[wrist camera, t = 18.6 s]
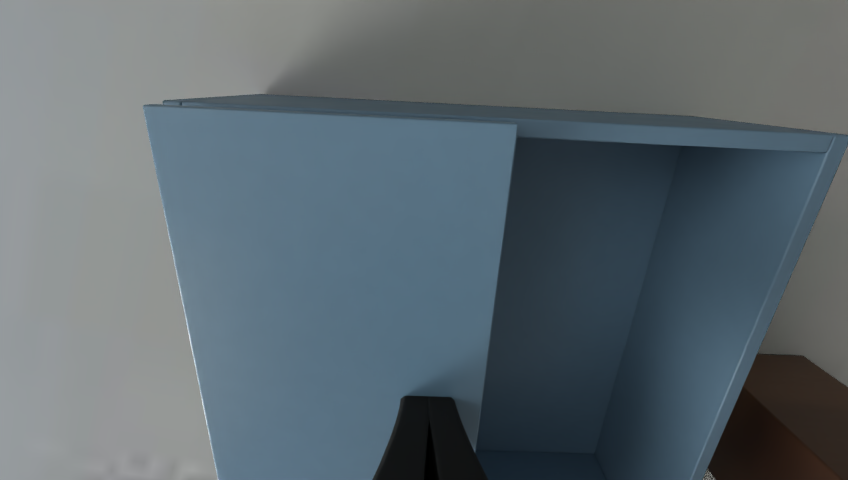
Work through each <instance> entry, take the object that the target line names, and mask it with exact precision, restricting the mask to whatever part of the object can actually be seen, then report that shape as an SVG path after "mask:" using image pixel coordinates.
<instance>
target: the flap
mask: <svg viewBox="0 0 848 480" xmlns="http://www.w3.org/2000/svg"><path fill="white" fill-rule="evenodd" d="M143 109H144V114H145V119H146V124H147V129H148V134H149V139H150V144H151V149H152V154H153V159H154V164H155V169H156V174H157V179H158V184H159V189H160V194H161V199H162V204H163V209H164V214H165V219H166V224H167V229H168V233H169V238H170V243H171V248H172V253H173V258H174V263H175V268H176V273H177V278H178V283H179V288H180V293H181V298H182V303H183V308H184V313H185V318H186V323H187V328H188V333H189V338H190V343H191V348H192V353H193V358H194V363H195V368H196V373H197V378H198V383H199V388H200V392H201V397H202V402H203V407H204V412H205V417H206V422H207V427H208V432H209V437H210V442H211V447H212V452H213V457H214V462H215V467H216V472H217V477H218V480H372V479H373V477H374V475H375V473H376V471H377V469H378V466H379V464H380V462H381V459H382V457H383V454H384V452H385V449H386V447H387V444H388V442H389V439H390V437H391V434H392V431H393V428H394V425H395V422H396V418H397V415H398V411H399V406H400V399H401V398H402V397H404V396H436V397H452V398H453V399H454V400H455V403H456V407H457V410H458V413H459V416H460V419H461V421H462V424H463V426H464V429H465V431H466V434H467V436H468V438H469V441H470V443H471V445H472V447H473V450H474V452H475V451H476V444H477V436H478V429H479V421H480V413H481V406H482V398H483V391H484V383H485V376H486V368H487V360H488V353H489V345H490V338H491V330H492V322H493V315H494V307H495V300H496V292H497V285H498V277H499V269H500V262H501V254H502V247H503V239H504V231H505V224H506V216H507V209H508V201H509V193H510V186H511V178H512V171H513V163H514V156H515V148H516V140H517V133H518V124H517V123H514V122H499V121H479V120H459V119H439V118H419V117H400V116H380V115H360V114H340V113H320V112H300V111H281V110H261V109H241V108H221V107H201V106H181V105H161V104H149V105H144V106H143Z"/></svg>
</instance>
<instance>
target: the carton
mask: <svg viewBox="0 0 848 480" xmlns="http://www.w3.org/2000/svg"><path fill="white" fill-rule="evenodd" d="M163 105H181V106H201V107H221V108H241V109H261V110H281V111H300V112H320V113H340V114H360V115H380V116H400V117H419V118H439V119H459V120H479V121H499V122H514V123H517V124H518V133H517V140H516V148H515V156H514V163H513V171H512V178H511V186H510V193H509V201H508V209H507V216H506V224H505V231H504V239H503V247H502V254H501V262H500V269H499V277H498V285H497V292H496V300H495V307H494V315H493V322H492V330H491V338H490V345H489V353H488V360H487V368H486V376H485V383H484V391H483V398H482V406H481V413H480V421H479V429H478V436H477V444H476V451H475V454H476V456H477V458H478V460H479V462H480V464H481V466H482V468H483V470H484V472H485V474H486V476H487V478H488V480H702V479H703V477H704V475H705V473H706V470H707V468H708V466H709V463H710V461H711V459H712V456H713V454H714V452H715V450H716V447H717V445H718V443H719V440H720V438H721V436H722V433H723V431H724V429H725V426H726V424H727V422H728V420H729V417H730V415H731V413H732V410H733V408H734V406H735V403H736V401H737V399H738V397H739V394H740V392H741V390H742V387H743V385H744V383H745V380H746V378H747V376H748V374H749V371H750V369H751V367H752V364H753V362H754V360H755V357H756V355H757V353H758V351H759V348H760V346H761V344H762V341H763V339H764V337H765V334H766V332H767V330H768V328H769V325H770V323H771V321H772V318H773V316H774V314H775V311H776V309H777V307H778V305H779V302H780V300H781V298H782V295H783V293H784V291H785V288H786V286H787V284H788V282H789V279H790V277H791V275H792V272H793V270H794V268H795V265H796V263H797V261H798V259H799V256H800V254H801V252H802V249H803V247H804V245H805V242H806V240H807V238H808V236H809V233H810V231H811V229H812V226H813V224H814V222H815V219H816V217H817V215H818V212H819V210H820V208H821V206H822V203H823V201H824V199H825V196H826V194H827V192H828V189H829V187H830V185H831V183H832V180H833V178H834V176H835V173H836V171H837V169H838V166H839V164H840V162H841V160H842V157H843V155H844V153H845V150H846V148H847V146H848V135H845V134H837V133H828V132H820V131H812V130H803V129H795V128H786V127H778V126H770V125H761V124H753V123H745V122H736V121H728V120H720V119H711V118H703V117H694V116H677V115H657V114H638V113H618V112H599V111H579V110H560V109H540V108H521V107H502V106H482V105H463V104H443V103H424V102H404V101H385V100H365V99H346V98H326V97H307V96H287V95H268V94H255V95H239V96H224V97H208V98H193V99H177V100H164V101H163Z"/></svg>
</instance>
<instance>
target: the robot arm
mask: <svg viewBox="0 0 848 480" xmlns="http://www.w3.org/2000/svg"><path fill="white" fill-rule="evenodd" d="M372 480H488V478H487V476H486V474H485V472H484V470H483V468H482V466H481V464H480V462H479V460H478V458H477V456H476V454H475V452H474V450H473V447H472V445H471V443H470V441H469V438H468V436H467V434H466V431H465V429H464V426H463V424H462V421H461V419H460V416H459V413H458V410H457V407H456V403H455V400H454V399H453V398H452V397H436V396H404V397H402V398H401V399H400V406H399V411H398V415H397V418H396V422H395V425H394V428H393V431H392V434H391V437H390V439H389V442H388V444H387V447H386V449H385V452H384V454H383V457H382V459H381V462H380V464H379V466H378V469H377V471H376V473H375V475H374V477H373V479H372Z"/></svg>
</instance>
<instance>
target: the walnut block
mask: <svg viewBox="0 0 848 480" xmlns="http://www.w3.org/2000/svg"><path fill="white" fill-rule="evenodd" d="M708 469H709V471H710V472H711V473H712V475H713V476H714V477H715V479H716V480H848V387H846V386H845V385H844V384H842V383H841V382H839V381H838V380H837V379H835V378H834V377H832V376H831V375H830V374H828V373H827V372H825V371H824V370H822V369H821V368H820V367H818V366H817V365H815V364H814V363H813V362H811V361H810V360H808V359H807V358H806V357H804V356H795V355H768V354H757V355H756V357H755V360H754V362H753V364H752V367H751V369H750V371H749V374H748V376H747V378H746V380H745V383H744V385H743V387H742V390H741V392H740V394H739V397H738V399H737V401H736V403H735V406H734V408H733V410H732V413H731V415H730V417H729V420H728V422H727V424H726V426H725V429H724V431H723V433H722V436H721V438H720V440H719V443H718V445H717V447H716V450H715V452H714V454H713V456H712V459H711V461H710V463H709V466H708Z"/></svg>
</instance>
